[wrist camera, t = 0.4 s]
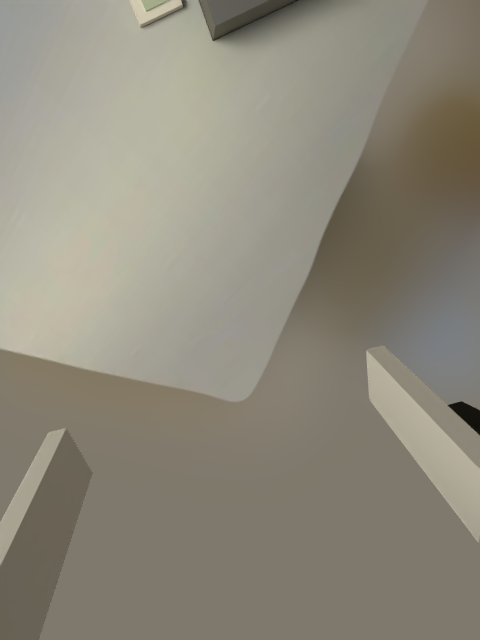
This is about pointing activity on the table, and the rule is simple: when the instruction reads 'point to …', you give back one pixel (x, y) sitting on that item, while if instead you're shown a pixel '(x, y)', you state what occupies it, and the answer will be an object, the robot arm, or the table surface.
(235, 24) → the keypad
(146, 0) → the card
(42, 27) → the table surface
